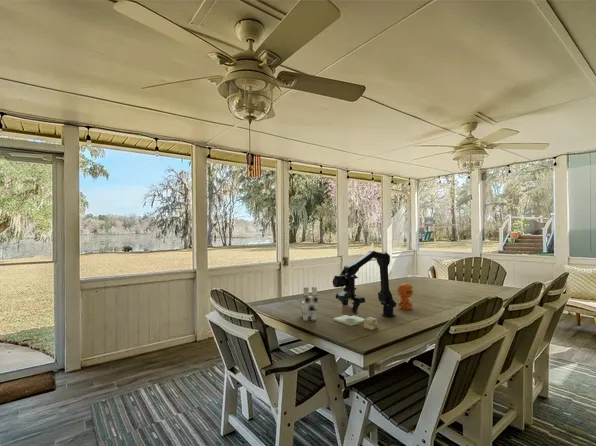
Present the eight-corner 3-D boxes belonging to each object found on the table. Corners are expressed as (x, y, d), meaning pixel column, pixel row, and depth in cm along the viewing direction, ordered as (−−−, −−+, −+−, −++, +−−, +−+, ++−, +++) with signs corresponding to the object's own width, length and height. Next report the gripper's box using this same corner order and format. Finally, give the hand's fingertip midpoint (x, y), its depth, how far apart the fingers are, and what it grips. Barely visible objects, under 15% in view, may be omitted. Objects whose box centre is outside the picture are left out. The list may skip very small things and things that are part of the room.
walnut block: (349, 312, 191) (349, 303, 191) (357, 314, 186) (357, 305, 186) (342, 314, 187) (342, 305, 187) (350, 316, 182) (350, 307, 182)
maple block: (369, 325, 177) (369, 317, 177) (377, 328, 173) (377, 319, 173) (364, 327, 173) (364, 318, 174) (371, 329, 170) (371, 320, 170)
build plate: (349, 316, 196) (349, 314, 196) (366, 321, 185) (366, 319, 185) (333, 320, 187) (333, 318, 187) (351, 325, 176) (351, 323, 176)
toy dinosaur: (416, 310, 209) (416, 283, 209) (400, 310, 209) (399, 283, 209) (410, 306, 220) (410, 280, 220) (395, 306, 220) (395, 280, 220)
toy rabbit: (311, 315, 199) (311, 283, 199) (318, 323, 181) (317, 288, 182) (300, 315, 197) (300, 283, 198) (305, 323, 180) (305, 289, 181)
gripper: (329, 285, 189) (329, 311, 188) (352, 290, 174) (353, 318, 174) (341, 283, 196) (342, 308, 195) (365, 287, 181) (365, 314, 181)
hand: (350, 312), depth 186 cm, fingers closed on walnut block, 6 cm apart
